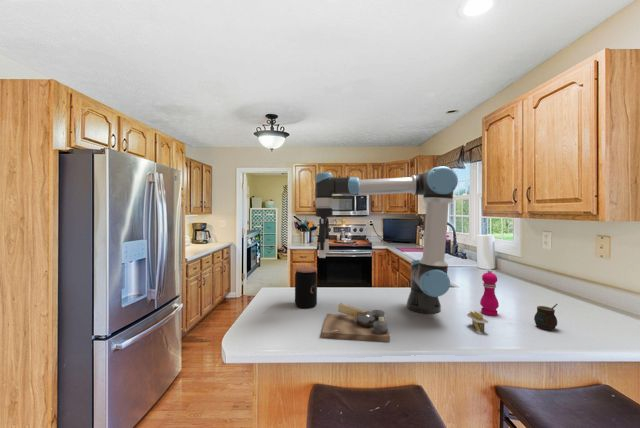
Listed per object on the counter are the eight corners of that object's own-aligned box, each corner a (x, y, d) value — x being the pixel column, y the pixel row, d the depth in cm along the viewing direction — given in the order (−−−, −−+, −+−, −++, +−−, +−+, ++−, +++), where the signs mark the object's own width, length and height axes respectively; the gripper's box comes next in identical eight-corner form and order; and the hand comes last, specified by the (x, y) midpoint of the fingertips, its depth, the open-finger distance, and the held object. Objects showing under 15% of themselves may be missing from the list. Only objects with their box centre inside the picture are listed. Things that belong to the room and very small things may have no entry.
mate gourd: (529, 324, 117) (529, 299, 117) (548, 324, 117) (548, 300, 117) (542, 331, 110) (543, 305, 110) (562, 332, 110) (563, 306, 110)
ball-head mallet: (378, 323, 111) (378, 311, 111) (368, 328, 106) (368, 316, 106) (344, 313, 122) (344, 302, 122) (334, 317, 117) (334, 306, 117)
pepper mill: (478, 313, 129) (478, 269, 129) (482, 309, 135) (482, 267, 134) (496, 317, 124) (497, 271, 124) (500, 313, 130) (500, 269, 130)
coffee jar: (314, 309, 133) (314, 271, 133) (292, 308, 135) (292, 270, 135) (318, 302, 143) (319, 266, 143) (298, 301, 145) (298, 265, 145)
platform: (473, 340, 103) (474, 322, 103) (449, 321, 121) (450, 305, 121) (506, 339, 104) (506, 321, 103) (477, 321, 122) (477, 305, 121)
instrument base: (384, 321, 119) (384, 309, 119) (389, 342, 100) (389, 327, 100) (327, 318, 122) (327, 306, 122) (321, 337, 103) (321, 323, 103)
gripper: (319, 208, 141) (319, 251, 141) (311, 207, 116) (311, 259, 116) (334, 208, 140) (334, 251, 140) (329, 207, 115) (329, 260, 115)
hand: (324, 255), depth 128 cm, fingers open, 13 cm apart
